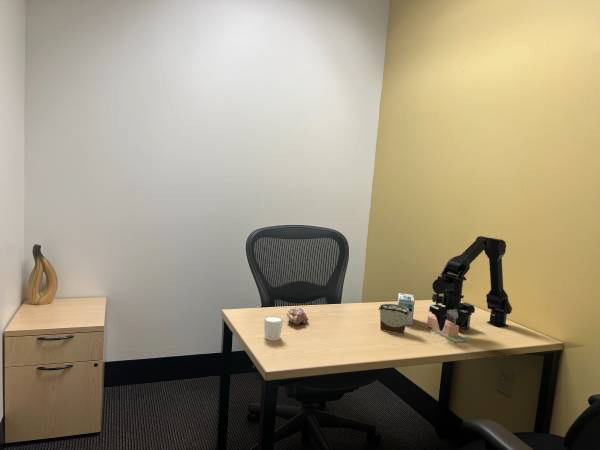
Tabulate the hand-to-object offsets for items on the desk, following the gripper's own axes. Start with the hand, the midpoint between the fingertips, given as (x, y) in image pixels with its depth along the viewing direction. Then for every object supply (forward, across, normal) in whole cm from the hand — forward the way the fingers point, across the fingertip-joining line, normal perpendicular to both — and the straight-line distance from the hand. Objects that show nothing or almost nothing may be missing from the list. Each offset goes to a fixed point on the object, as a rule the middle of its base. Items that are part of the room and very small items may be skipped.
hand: (449, 329), depth 185 cm
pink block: (+2, 0, -4) cm, 5 cm away
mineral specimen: (+3, +54, -28) cm, 61 cm away
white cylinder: (+3, +70, -15) cm, 72 cm away
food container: (+3, +19, -11) cm, 22 cm away
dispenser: (+2, -10, -9) cm, 14 cm away
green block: (+2, 0, 0) cm, 2 cm away
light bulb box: (+3, +7, -20) cm, 21 cm away
